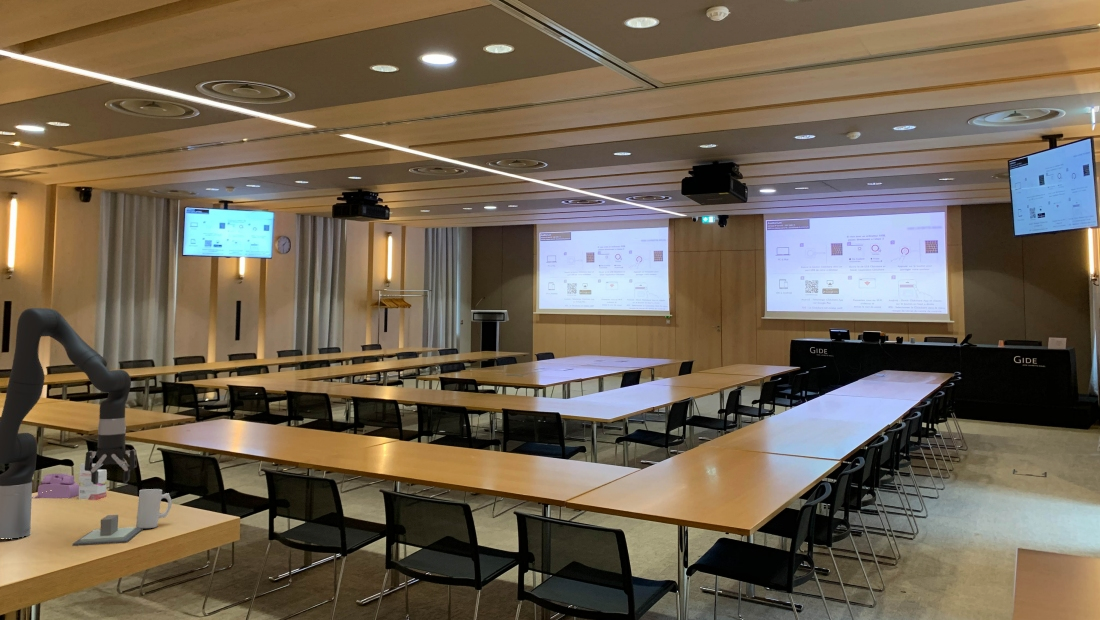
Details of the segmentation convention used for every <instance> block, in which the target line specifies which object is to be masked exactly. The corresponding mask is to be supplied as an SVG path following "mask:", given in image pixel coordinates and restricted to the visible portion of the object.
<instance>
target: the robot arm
mask: <svg viewBox="0 0 1100 620" xmlns="http://www.w3.org/2000/svg"><path fill="white" fill-rule="evenodd" d="M42 337H50V338H52V339H53V340H55V341H57V342H58V343H59V344H60V345H62V347H63V349H64V351H65V353H66V355H67V357H68V359H69V361H71V363H72V364H73V365H74V366H75V367H77V369H79V370H81V372H83V373H84V374H85V375H86V376H87V378H88V380H89V381H90V382H91V384H92V385H93V386H94V388H95V389H97V390H98V391H100V392H102V393H108V395H107V398H106V399H103V401H101V402H100V404H99V415H98V417H99V420H98V427H97V428H98V429H97V451H93V450H89V451H87V452H86V453H85V459H84V460H85V461H84V463H85V471H90V472H91V482H93V484H97V483H98V472H97V470H98V469H99V470H100V469H101V467H102V466H103V465H105V466H106V465H119V467H121V468H122V470H124V471H123V472H122V474H123V475H122V483H123V484H126V483H128V481H129V480H130V478H131V470H134V469H135V468H137V466H138V462H137V461H138V459H137V457H138V455H137V449H131V450H130V449H128V450H127V449H126V432H127V428H126V426H127V425H126V405H127V404H126V403H127V401H128V397H129V394H130V391H131V386H132V380H131V376H130V374H129V373H128V372H127V371H126V370H123V369H113V370H111V369H109V368H107V367H108V362H107V360H106V359H105V358H104V357H103V356H102V355H101V354H100V353H99V352H97V351H96V350H95V349H94V348H93V347H91V346H90V345H89V344H88V343H87V342H86V341H85V340H84V339H83V338H82V337H81V336H80V335H79V334H78V333H77V332H76V330H75V329H74V328H73V327H72V326H71V325H70V324H69V322H68V321H67V320H66V319H65V317H64V316H63V315H62V314H61V313H60V312H58V311H57V310H55V309H53V308H44V307H43V308H42V307H38V308H37V307H31V308H27V309H25V310H24V311H22V312H21V313H20V315H19V317H18V320H17V325H16V337H15V338H16V339H15V349H14V354H13V360H12V365H11V371H10V375H9V379H8V383H7V387H6V394H5V399H4V403H3V408H2V412H1V416H0V465H7V464H11V466H10V467H9V468H8V469H7V470H6V471H4V472H3V473H1V474H0V539H1V538H4V539H6V538H7V539H9V538H10V539H11V538H18V539H20V538H19V537H22V538H25V537H24V536H26V537H28V536H30V535H31V530H32V528H31V527H32V526H31V524H32V523H31V522H32V499H33V498H32V497H33V478H34V475H35V473H36V467H37V466H36V465H37V456H38V444H37V439H36V437H35V436H34V435H33V434H32V433H29V432H19V431H20V427H21V425H22V423H23V421H24V419H25V418H26V417H27V416H28V414H29V413H30V412H31V410H32V409H33V408H34V407H35V406H36V405H37V403H38V402H39V400H40V398H41V397H42V393H43V388H44V384H45V377H46V376H45V371H44V368H43V366H42V363H41V361H40V358H39V354H38V353H39V346H40V342H41V338H42ZM126 455H127V456H128V458H129V464H128V462H127V460H126V459H125V458H124V457H126ZM95 456H96V457H97V459H98V461H96V463H94V464H95V466H94V467H92V464H93V460H94V458H95ZM11 540H12V539H11Z"/></svg>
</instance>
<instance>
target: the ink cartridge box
mask: <svg viewBox="0 0 1100 620" xmlns="http://www.w3.org/2000/svg"><path fill="white" fill-rule="evenodd" d="M95 464H96V463H92V467H94V466H95ZM97 472H98V483H97V484H93V482H91V472H90V471H85V462H82V463H80V466H79V471H78V473H79V474H78V476H79V477H78V484H79V496H78V500H81V499H88V500H89V501H99V500H102V499H104V498H107V483H108V482H107V478H108V477H107V476H108V475H107V474H108V472H107V469H100V468H99V469H98V470H97ZM101 498H102V499H101Z"/></svg>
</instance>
